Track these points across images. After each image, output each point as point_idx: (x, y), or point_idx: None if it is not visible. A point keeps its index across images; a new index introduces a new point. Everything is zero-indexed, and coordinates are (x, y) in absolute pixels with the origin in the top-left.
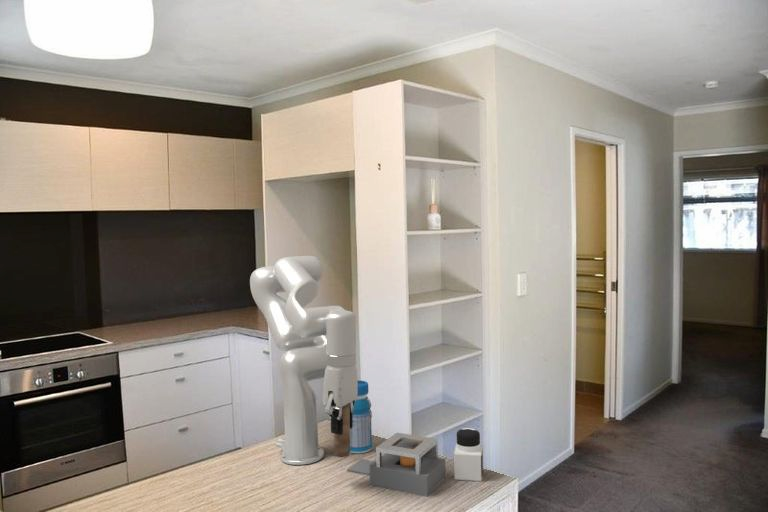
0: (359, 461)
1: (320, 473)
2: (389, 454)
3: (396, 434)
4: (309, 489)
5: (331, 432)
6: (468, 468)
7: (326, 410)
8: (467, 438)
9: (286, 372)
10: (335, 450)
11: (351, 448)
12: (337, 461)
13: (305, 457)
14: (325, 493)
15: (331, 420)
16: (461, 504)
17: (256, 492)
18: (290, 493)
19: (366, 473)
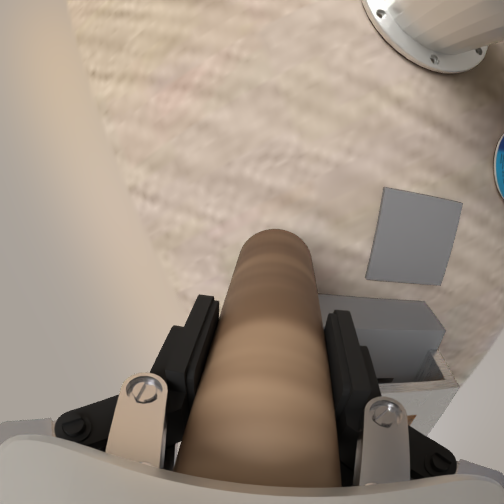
0: (446, 204)
1: (339, 107)
2: (409, 342)
3: (443, 393)
4: (213, 132)
5: (199, 295)
6: None
7: (2, 441)
8: None
9: None
10: (239, 257)
11: (501, 158)
12: (439, 128)
13: (401, 25)
14: (207, 194)
15: (172, 355)
16: None
17: (143, 8)
18: (168, 93)
19: (370, 259)
